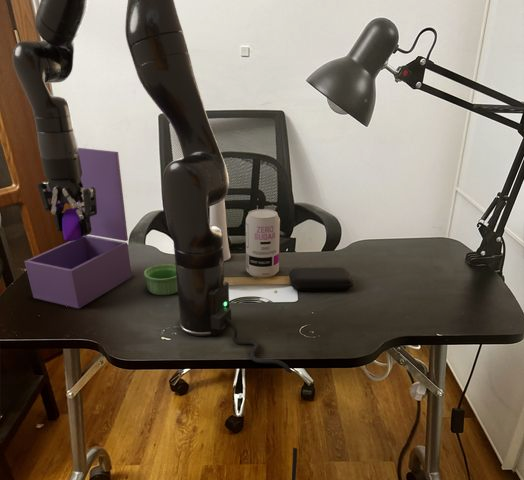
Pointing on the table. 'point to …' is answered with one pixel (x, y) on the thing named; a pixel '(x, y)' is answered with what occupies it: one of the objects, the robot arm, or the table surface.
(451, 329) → the table surface
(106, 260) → the file box
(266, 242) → the supplement can
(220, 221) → the cosmetic bottle
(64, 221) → the purple teardrop shape
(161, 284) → the ramekin
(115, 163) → the lid
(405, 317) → the table surface
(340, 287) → the carrying case
